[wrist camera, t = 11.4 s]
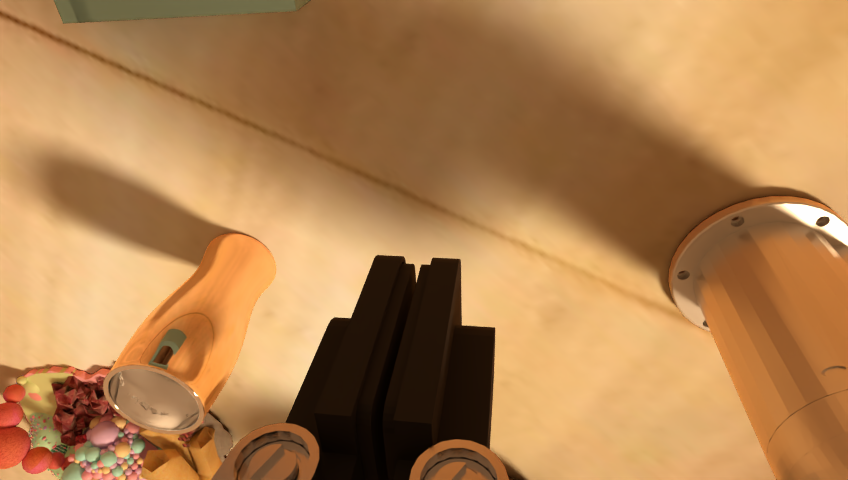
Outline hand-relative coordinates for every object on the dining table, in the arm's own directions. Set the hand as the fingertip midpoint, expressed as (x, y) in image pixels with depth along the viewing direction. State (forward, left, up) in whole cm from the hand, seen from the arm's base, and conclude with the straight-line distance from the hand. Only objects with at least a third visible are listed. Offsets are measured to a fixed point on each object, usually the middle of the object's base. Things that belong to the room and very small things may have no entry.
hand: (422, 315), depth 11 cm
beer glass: (+20, +20, -28) cm, 40 cm away
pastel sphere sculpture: (+40, +45, -29) cm, 66 cm away
